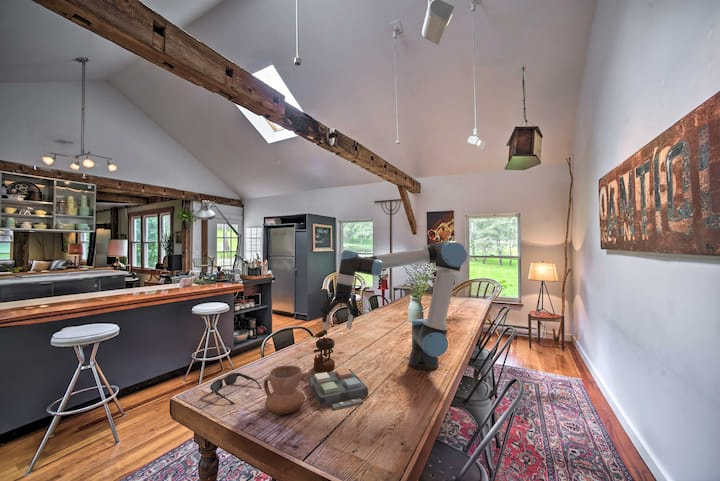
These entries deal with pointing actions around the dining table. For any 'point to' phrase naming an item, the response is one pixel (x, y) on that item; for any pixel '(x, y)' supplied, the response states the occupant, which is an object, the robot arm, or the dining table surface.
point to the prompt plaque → (346, 403)
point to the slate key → (352, 383)
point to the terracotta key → (343, 373)
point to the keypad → (342, 392)
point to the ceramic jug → (284, 390)
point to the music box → (323, 344)
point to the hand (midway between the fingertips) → (336, 328)
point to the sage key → (329, 387)
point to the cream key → (322, 377)
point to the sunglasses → (228, 383)
